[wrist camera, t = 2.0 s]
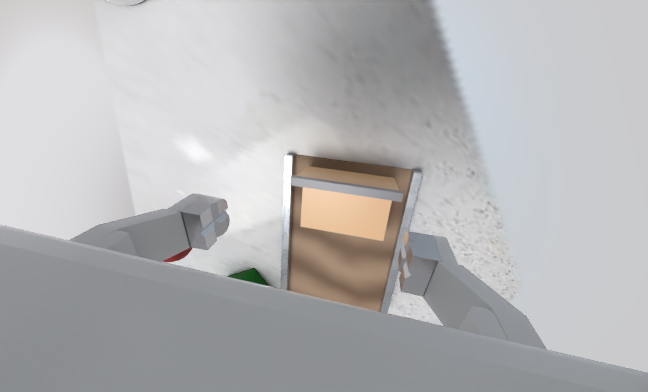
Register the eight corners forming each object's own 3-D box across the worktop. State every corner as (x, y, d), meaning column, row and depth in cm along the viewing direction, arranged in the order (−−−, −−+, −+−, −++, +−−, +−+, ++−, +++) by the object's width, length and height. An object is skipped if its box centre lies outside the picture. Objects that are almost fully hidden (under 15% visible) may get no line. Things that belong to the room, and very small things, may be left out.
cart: (306, 157, 30) (290, 177, 24) (398, 169, 28) (403, 194, 23) (305, 213, 34) (290, 242, 28) (384, 227, 32) (386, 260, 27)
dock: (290, 150, 31) (273, 166, 26) (419, 167, 29) (429, 187, 24) (291, 279, 44) (279, 307, 38) (382, 298, 41) (383, 331, 36)
